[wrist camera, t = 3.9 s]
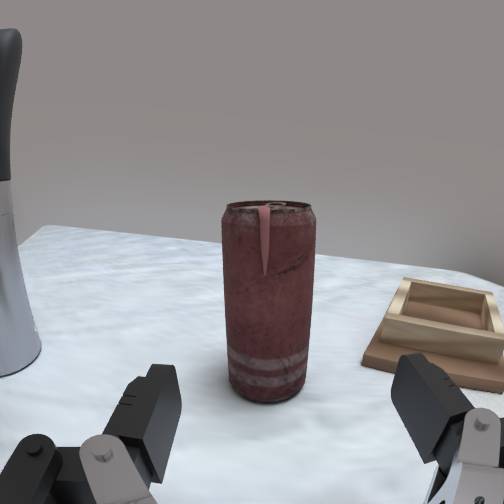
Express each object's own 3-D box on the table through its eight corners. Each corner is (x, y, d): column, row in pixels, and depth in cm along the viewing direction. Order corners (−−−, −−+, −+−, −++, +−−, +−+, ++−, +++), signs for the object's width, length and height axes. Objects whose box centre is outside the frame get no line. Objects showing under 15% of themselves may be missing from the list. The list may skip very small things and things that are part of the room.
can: (228, 409, 20) (217, 209, 16) (230, 360, 26) (223, 199, 22) (312, 404, 20) (329, 208, 16) (298, 358, 26) (305, 198, 22)
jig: (502, 393, 16) (518, 357, 16) (361, 365, 24) (368, 329, 23) (488, 311, 31) (494, 285, 30) (397, 295, 38) (400, 270, 38)
